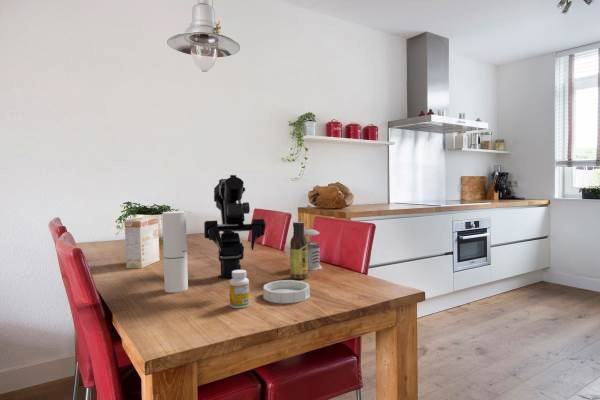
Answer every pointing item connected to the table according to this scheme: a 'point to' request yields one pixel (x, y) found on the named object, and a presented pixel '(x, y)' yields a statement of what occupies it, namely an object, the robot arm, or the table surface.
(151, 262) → the coffeecake box
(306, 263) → the sauce bottle
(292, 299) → the dish
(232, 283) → the supplement bottle
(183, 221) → the cylindrical container
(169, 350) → the table surface
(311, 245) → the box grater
